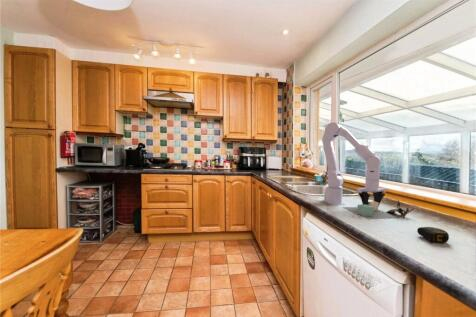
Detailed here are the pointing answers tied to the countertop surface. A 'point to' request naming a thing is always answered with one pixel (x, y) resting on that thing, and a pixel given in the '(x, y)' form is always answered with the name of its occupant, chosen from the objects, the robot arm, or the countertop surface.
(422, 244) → the countertop surface
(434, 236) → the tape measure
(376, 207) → the cream brick
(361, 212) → the teal brick
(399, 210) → the eagle figurine
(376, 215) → the build mat
